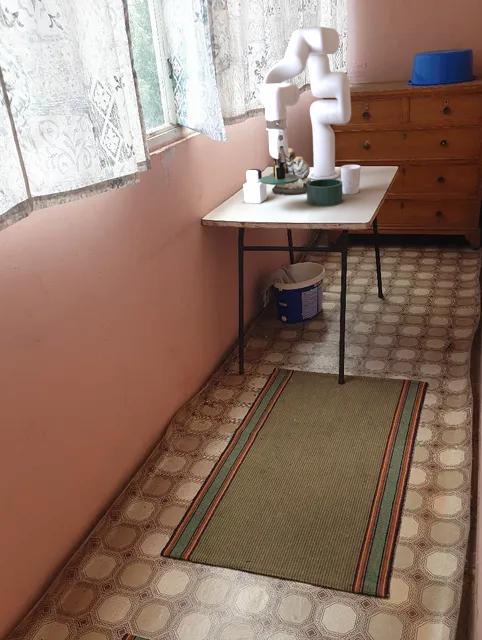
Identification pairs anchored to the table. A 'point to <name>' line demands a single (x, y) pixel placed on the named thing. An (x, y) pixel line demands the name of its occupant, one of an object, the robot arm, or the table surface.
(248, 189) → the medicine bottle
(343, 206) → the table surface
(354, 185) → the white cup
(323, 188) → the tin
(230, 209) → the table surface
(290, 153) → the owl figurine
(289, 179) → the lid
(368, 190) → the table surface
